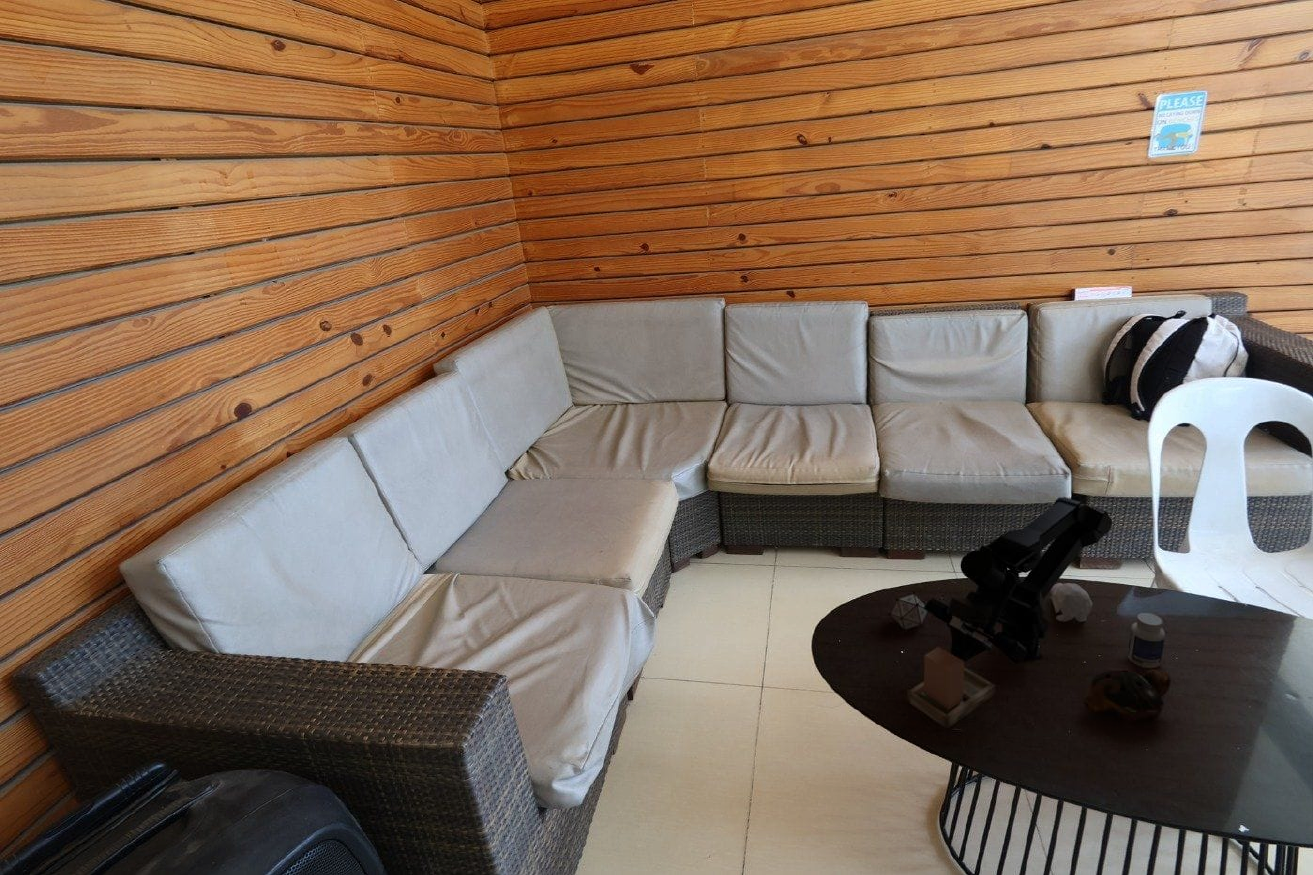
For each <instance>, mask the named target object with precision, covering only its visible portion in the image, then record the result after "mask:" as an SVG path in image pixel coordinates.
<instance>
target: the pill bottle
mask: <svg viewBox="0 0 1313 875" xmlns="http://www.w3.org/2000/svg"><path fill="white" fill-rule="evenodd" d="M1135 620H1136V622H1134V623H1132V625H1131V626H1130V627H1131V628H1130V633H1129V634H1130V635H1129V642H1128V650H1127V658H1128V659H1129V661H1130V662H1132V663H1133V664H1135V665H1137V666H1138V667H1142V668H1146V669H1155V668H1158V667H1160V665H1161V662H1162V656H1163V649H1164V645H1165V640H1166V639H1165V637H1166V633H1165V630H1164V629H1163V620H1162V618H1161V617H1159V616H1158V615H1156V614H1153V613H1148V612H1141V613H1138V615H1137V617H1136V619H1135Z"/></svg>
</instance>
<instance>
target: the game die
mask: <svg viewBox="0 0 1313 875" xmlns="http://www.w3.org/2000/svg"><path fill="white" fill-rule="evenodd" d="M894 599H895V600H896V601H895V602H894V604H893V607H892V609H891V612H889V613H886V616H888V617H889V616H891V617H892V618H893V619H894V620H895V621H896V622H897V624H898V625H899V626H900V627H901V628H902V629H903V630H902V632H903V634H905V633H906V630H909V629H913V628H916V627H922V628H924V627H925V625H924V624H923V623H924V620H925V618H926V616H927V615H928V613H929V612H928V611H926V610H925V609H923V608H924V606H925V604H924V602H923V601H921V599H920V598H919V597H918V596H917V595H916V590H913V591H912V593H911V594H909V595H908V594H907V595H905V596H903V597H902V596H901V597H898V596H894Z"/></svg>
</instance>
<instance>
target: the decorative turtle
mask: <svg viewBox="0 0 1313 875" xmlns="http://www.w3.org/2000/svg"><path fill="white" fill-rule="evenodd" d="M1171 679H1172V678H1171V676H1170V675H1169V673H1167V672H1166V671H1163V670H1159V669H1150V670H1147V671H1145V672H1144V673H1143V674H1142V675H1140V674H1138V673H1137V672H1136V671H1133V670H1131V669H1123V668H1122V669H1121V668H1120V669H1119V668H1118V669H1110V670H1107V671H1103V672H1101V673H1099V674H1097V675H1096V676H1094V677H1093V679H1091V683H1090V685H1089V686H1090V691H1089V693H1087V694H1085V695H1084V696H1083V697H1082V702H1083V704H1084V706H1085V708H1086V709H1087V710H1088V711H1089V712H1091V713H1094V714H1096V713H1101V712H1107V711H1110V712H1111V711H1113V712H1114V713H1115V712H1116V713H1117V714H1118V715H1119V717H1120V718H1121V720H1122V721H1123V722H1124V723H1125V724H1128V725H1130V724H1131V725H1132V724H1134V723H1136V722H1139V721H1141V720H1143V719H1146V720H1149V721H1155V720H1158V718H1159V717H1160V715H1161V713H1162V711H1163V709H1164V700H1163V697H1164V696H1165V695H1166V694H1167V692H1168V691H1169V688H1170V686H1171V681H1172V680H1171Z"/></svg>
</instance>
